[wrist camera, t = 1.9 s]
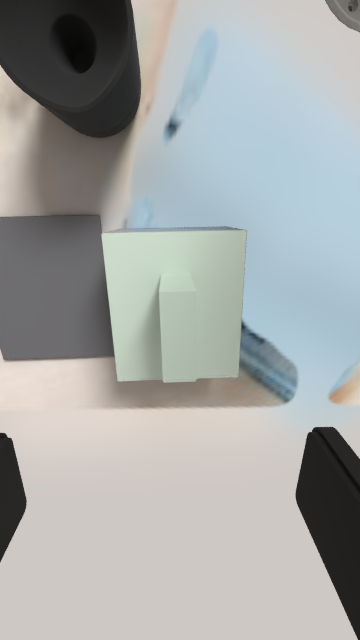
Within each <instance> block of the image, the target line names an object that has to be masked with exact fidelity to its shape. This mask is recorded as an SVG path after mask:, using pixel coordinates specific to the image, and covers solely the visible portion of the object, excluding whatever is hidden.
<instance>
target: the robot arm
mask: <svg viewBox="0 0 360 640" xmlns="http://www.w3.org/2000/svg"><path fill="white" fill-rule="evenodd" d="M325 1H326V3H327V4H328V6H329V8H330V10H331V11H332V12H333V14H334V15H335V16H336V17H337V18H338V20H339V21H341V22H342V23H343V24H345V25H346V26H347V27H349V28H351V29H354V30H356V31H358V32H360V0H325ZM296 501H297V504H298V507H299V509H300V511H301V513H302V516H303V518H304V520H305V523H306V525H307V527H308V529H309V532H310V534H311V536H312V538H313V540H314V543H315V545H316V547H317V549H318V552H319V554H320V556H321V558H322V561H323V563H324V565H325V567H326V569H327V572H328V574H329V576H330V578H331V581H332V583H333V585H334V587H335V589H336V592H337V594H338V596H339V598H340V600H341V603H342V605H343V607H344V610H345V612H346V614H347V616H348V618H349V621H350V623H351V625H352V627H353V629H354V632H355V634H356V636H357V638H358V640H360V459H359V458H358V456H357V455H356V454H355V453H354V451H353V450H352V449H351V447H350V446H349V445H348V444H347V442H346V441H345V440H344V438H343V437H342V436H341V435H340V434H339V432H338V431H337V430H336V429H335V428H333V427H315V428H314V429H313V430H312V432H309V433H308V435H307V439H306V445H305V449H304V454H303V459H302V464H301V469H300V474H299V479H298V483H297V488H296ZM25 509H26V496H25V492H24V487H23V483H22V479H21V475H20V471H19V466H18V462H17V458H16V454H15V450H14V445H13V441H12V439H11V438H8V437H7V435H6V434H5V433H0V562H1V560H2V557H3V555H4V553H5V551H6V549H7V547H8V545H9V543H10V541H11V539H12V537H13V535H14V533H15V531H16V529H17V527H18V525H19V522H20V520H21V519H22V516H23V514H24V512H25Z"/></svg>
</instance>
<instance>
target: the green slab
mask: <svg viewBox="0 0 360 640" xmlns="http://www.w3.org/2000/svg"><path fill="white" fill-rule="evenodd" d="M101 235H102V245H103V254H104V263H105V272H106V281H107V290H108V299H109V308H110V317H111V326H112V335H113V344H114V353H115V362H116V372H117V381H145V380H163V383H166V382H194V381H196V379H200V378H227V377H238V373H239V356H240V339H241V322H242V305H243V288H244V271H245V253H246V236H247V230H217V231H172V232H127V233H102V234H101Z"/></svg>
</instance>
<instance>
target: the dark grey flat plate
mask: <svg viewBox="0 0 360 640" xmlns="http://www.w3.org/2000/svg"><path fill="white" fill-rule="evenodd" d="M101 234H102V231H101V222H100V215H72V216H24V217H0V348H1V351H2V355H3V359H4V360H9V359H39V358H68V357H98V356H115V353H114V344H113V335H112V326H111V317H110V308H109V299H108V290H107V281H106V272H105V263H104V254H103V245H102V235H101Z"/></svg>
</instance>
